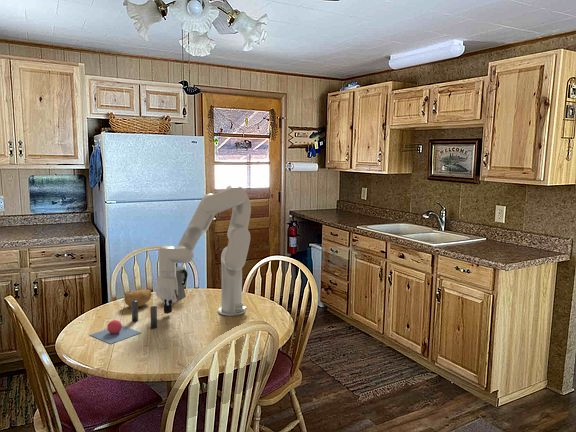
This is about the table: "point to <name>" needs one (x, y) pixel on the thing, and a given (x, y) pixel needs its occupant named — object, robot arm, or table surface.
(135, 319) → the post
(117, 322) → the ball
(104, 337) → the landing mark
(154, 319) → the post
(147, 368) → the table surface
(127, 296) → the potato
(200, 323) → the table surface
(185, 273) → the coffeepot
